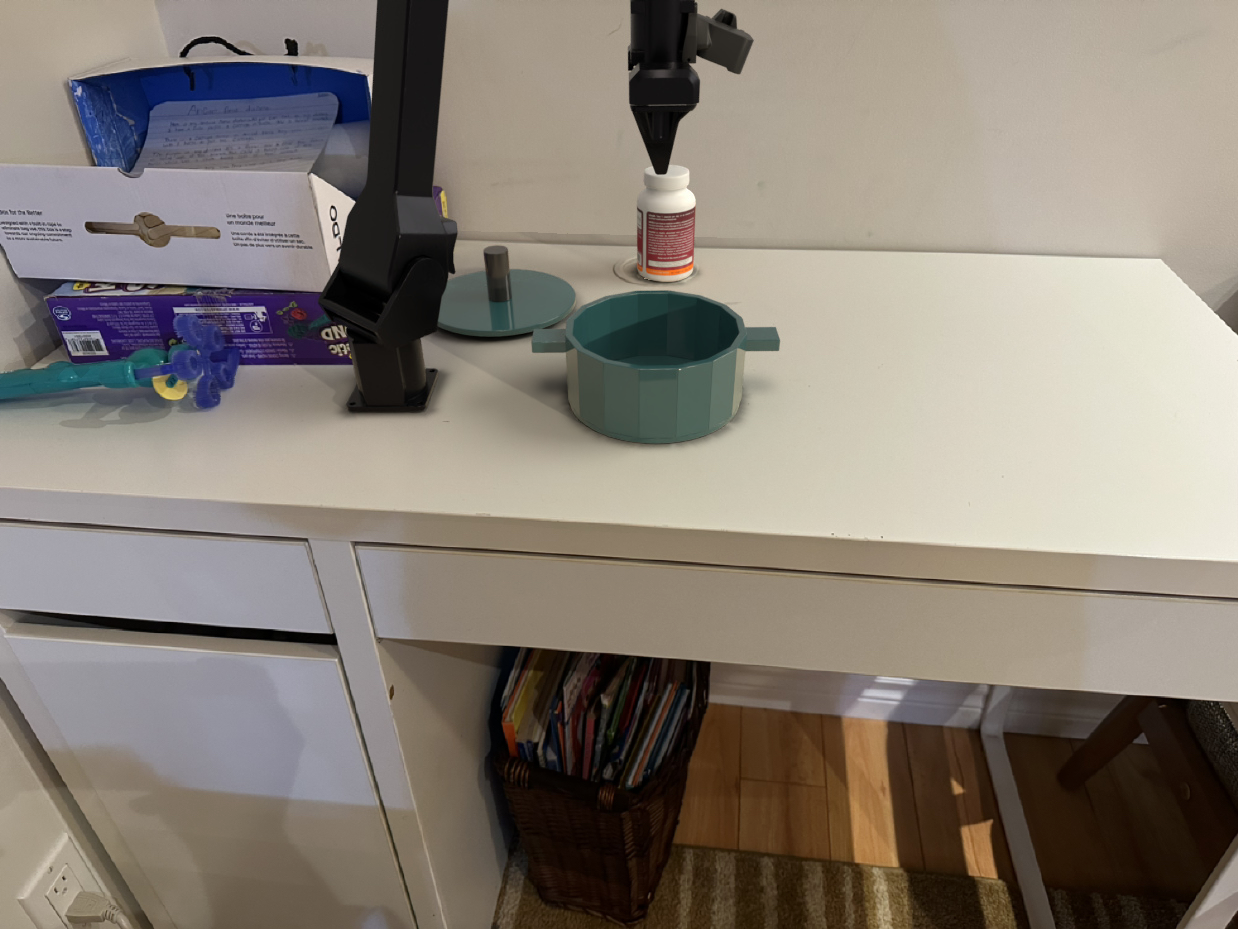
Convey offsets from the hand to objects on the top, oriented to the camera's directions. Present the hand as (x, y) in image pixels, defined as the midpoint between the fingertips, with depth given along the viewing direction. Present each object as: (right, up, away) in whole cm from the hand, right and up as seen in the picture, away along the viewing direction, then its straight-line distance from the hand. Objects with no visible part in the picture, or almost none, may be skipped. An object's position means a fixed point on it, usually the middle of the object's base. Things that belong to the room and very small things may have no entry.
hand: (659, 160), depth 85 cm
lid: (-16, -14, 0) cm, 22 cm away
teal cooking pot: (-1, -25, -15) cm, 29 cm away
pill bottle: (+1, -10, +7) cm, 12 cm away
